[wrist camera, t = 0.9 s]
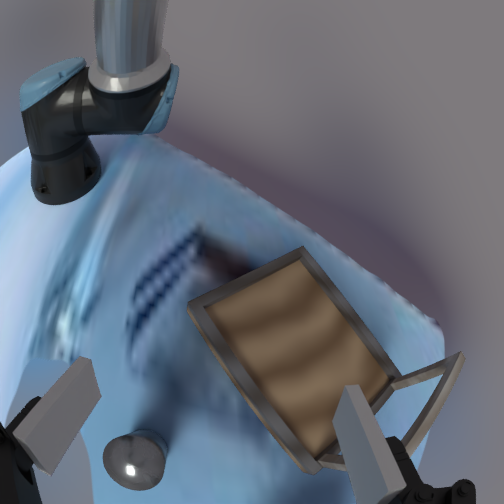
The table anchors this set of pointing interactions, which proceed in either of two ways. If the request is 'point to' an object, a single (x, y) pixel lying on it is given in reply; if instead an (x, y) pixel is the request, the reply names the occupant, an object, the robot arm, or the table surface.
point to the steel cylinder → (136, 459)
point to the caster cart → (306, 356)
